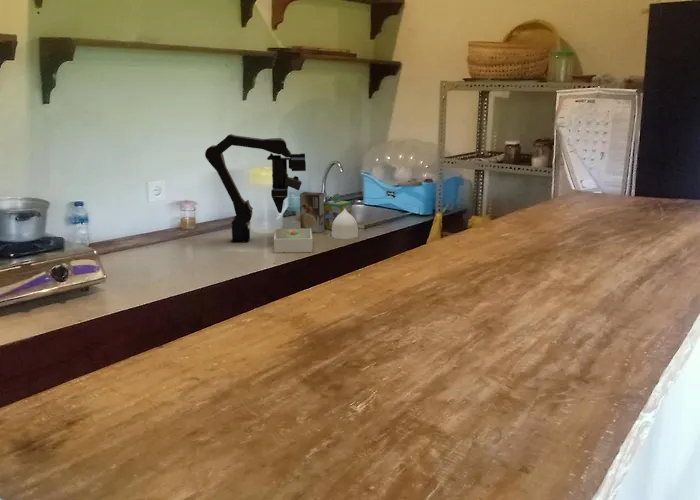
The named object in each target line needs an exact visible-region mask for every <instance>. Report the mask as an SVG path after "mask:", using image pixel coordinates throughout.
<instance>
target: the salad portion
mask: <svg viewBox="0 0 700 500" xmlns="http://www.w3.org/2000/svg"><path fill="white" fill-rule="evenodd" d="M286 237H287V239H300V233H299V232H298V231H297V230H294V231H293V230H289V231H288V233H287V234H286Z"/></svg>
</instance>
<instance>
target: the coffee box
mask: <svg viewBox="0 0 700 500" xmlns="http://www.w3.org/2000/svg"><path fill="white" fill-rule="evenodd" d="M324 203H325V193H324V192H316V191H315V192H313V191H312V192H311V191H310V192H309V191H304V192H301V193H300V194H299V215H300V216H299V220H300V221H299V222H300V225H299V227H300V229H311V231H312V233H317V234H319V233H320V234H321V233H322V232H323V231H325V230H326V229H324Z"/></svg>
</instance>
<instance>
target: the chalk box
mask: <svg viewBox="0 0 700 500" xmlns="http://www.w3.org/2000/svg"><path fill="white" fill-rule="evenodd" d="M332 197H333V199H332V200H329V201H326V202H325V201H324V229H325V230H328V231H329V230H331V231H332V223H333V221H334V219H335V218H336V217H337V216H338V215H339V214H340V213H341V212H342V211H343V210H344V208H345V209H346V211H347V212H348V213H349V214H351V215H352V202H351V201H346V200H341V197H340V194H339V193H336V194H333V195H332ZM336 198H337V199H336Z"/></svg>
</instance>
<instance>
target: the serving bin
mask: <svg viewBox="0 0 700 500" xmlns="http://www.w3.org/2000/svg"><path fill="white" fill-rule="evenodd" d="M289 230H293V231H294V230H297V231H298V232H299V233H300V239H287V237H286V234H287V233H288V231H289ZM273 235H274V237H273V253H276V254H277V253H283V252H285V253H313V232H312V231H311V229H301V228H275V229H274V234H273Z"/></svg>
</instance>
